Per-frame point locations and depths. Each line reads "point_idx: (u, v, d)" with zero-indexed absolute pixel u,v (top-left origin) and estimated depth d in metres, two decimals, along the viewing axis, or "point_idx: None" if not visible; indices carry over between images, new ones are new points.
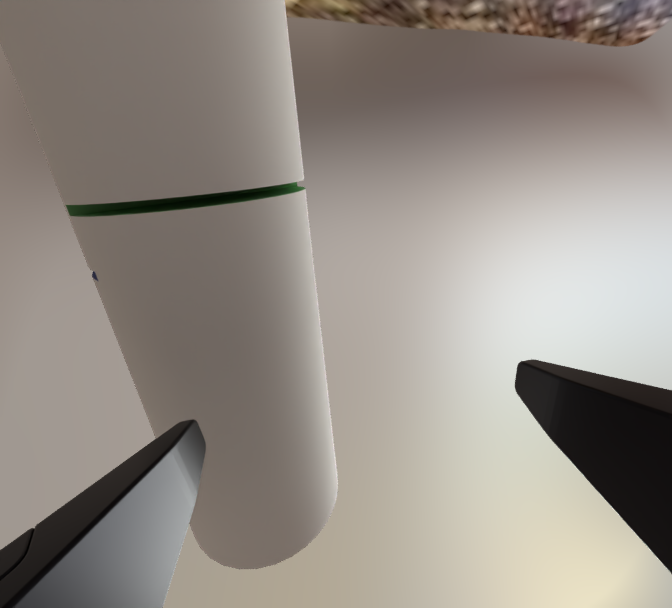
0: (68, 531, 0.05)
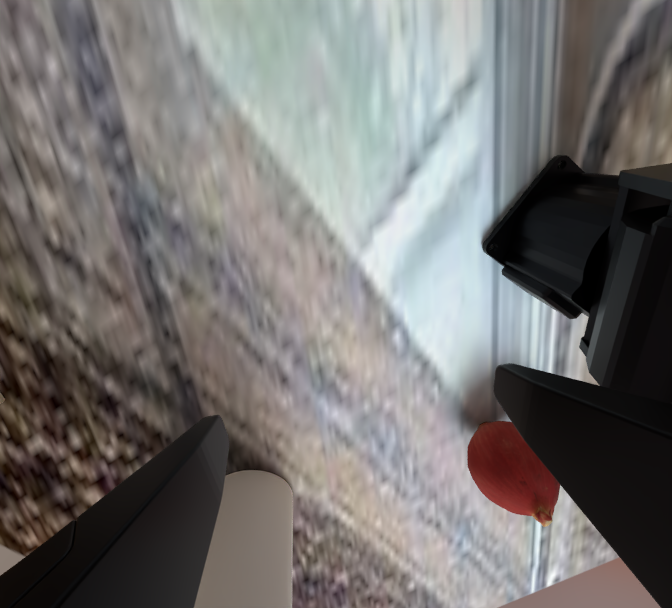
0: (112, 523, 0.05)
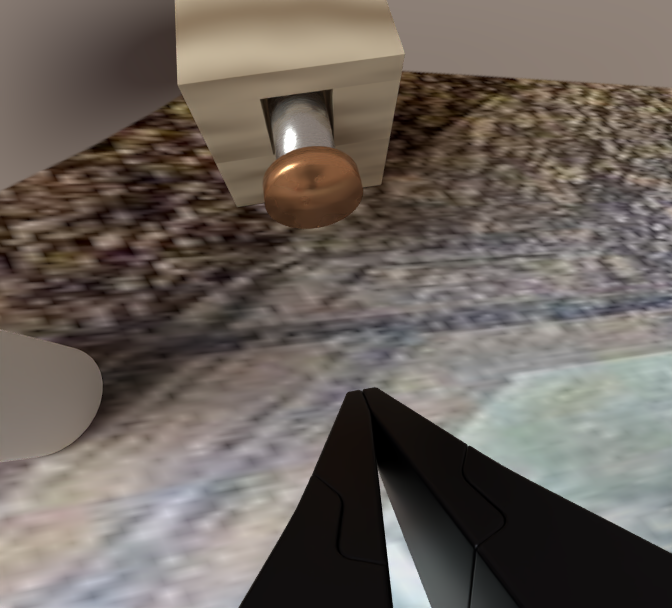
0: (359, 476, 0.05)
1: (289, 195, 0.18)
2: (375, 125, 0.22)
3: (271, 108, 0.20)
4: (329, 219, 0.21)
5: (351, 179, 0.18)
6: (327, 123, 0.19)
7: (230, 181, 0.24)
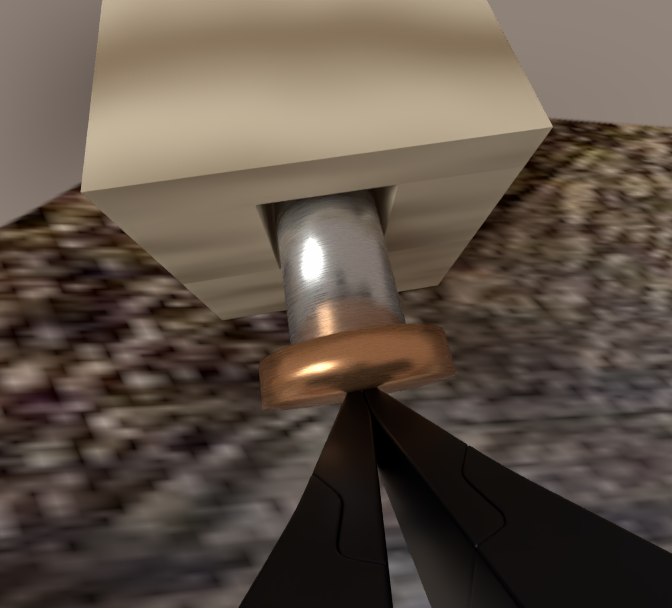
0: (359, 476, 0.05)
1: (312, 399, 0.09)
2: (454, 227, 0.13)
3: (277, 204, 0.11)
4: None
5: (441, 375, 0.09)
6: (381, 237, 0.10)
7: (209, 299, 0.15)
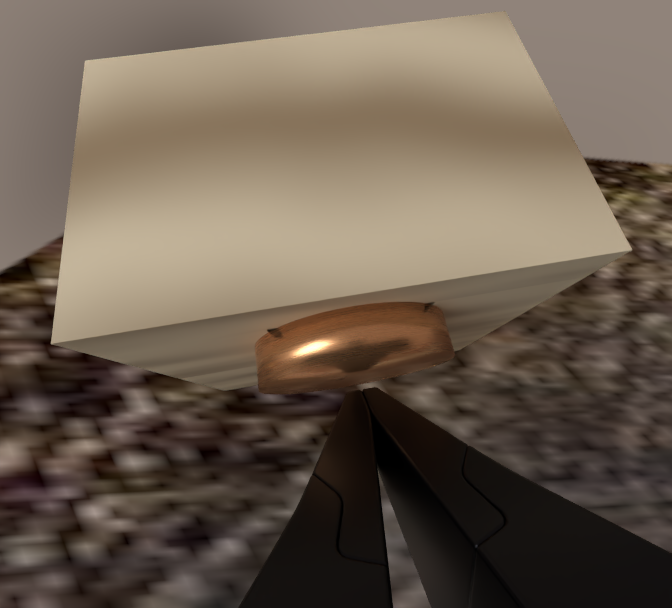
0: (359, 476, 0.05)
1: (309, 380, 0.09)
2: (490, 318, 0.11)
3: None
4: (375, 379, 0.12)
5: (439, 355, 0.08)
6: None
7: (210, 382, 0.13)
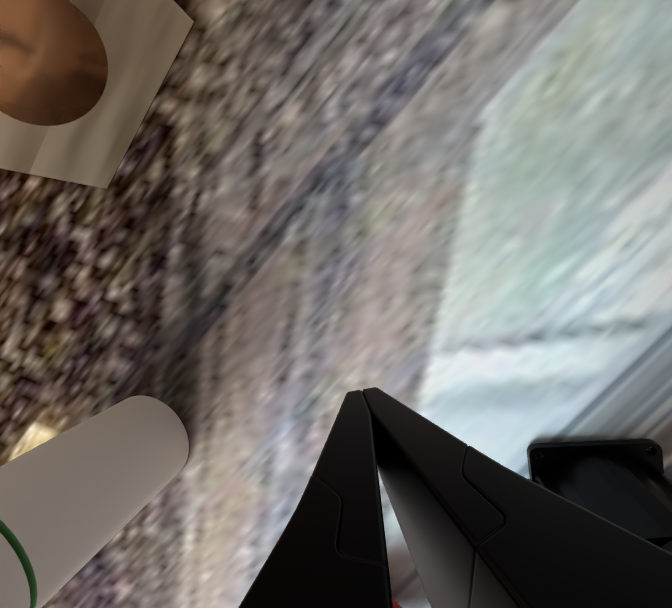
0: (359, 476, 0.05)
1: (13, 84, 0.14)
2: None
3: None
4: (96, 72, 0.16)
5: None
6: None
7: (65, 174, 0.20)
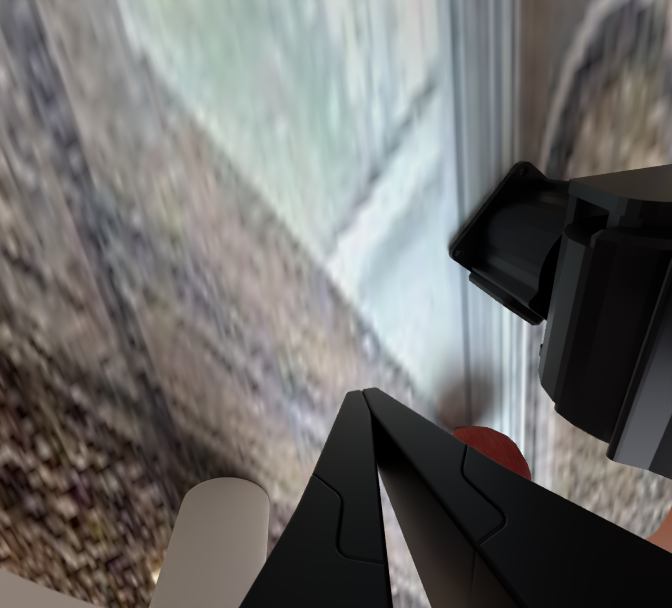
0: (359, 476, 0.05)
1: None
2: None
3: None
4: None
5: None
6: None
7: None
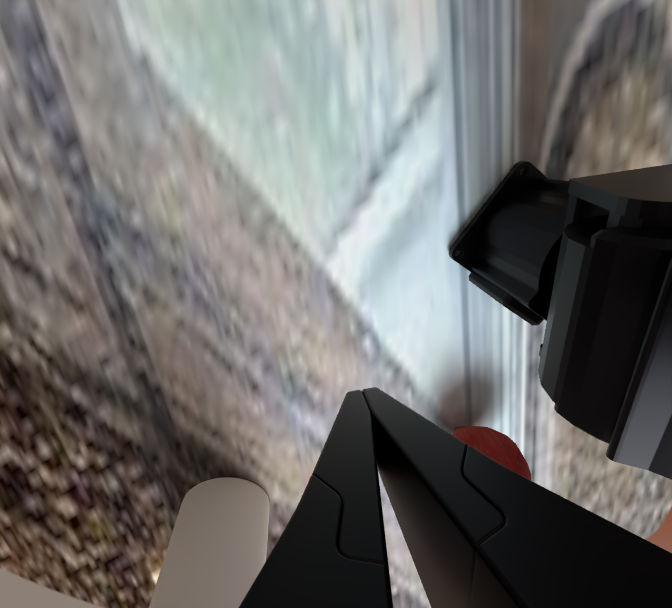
0: (359, 476, 0.05)
1: None
2: None
3: None
4: None
5: None
6: None
7: None
